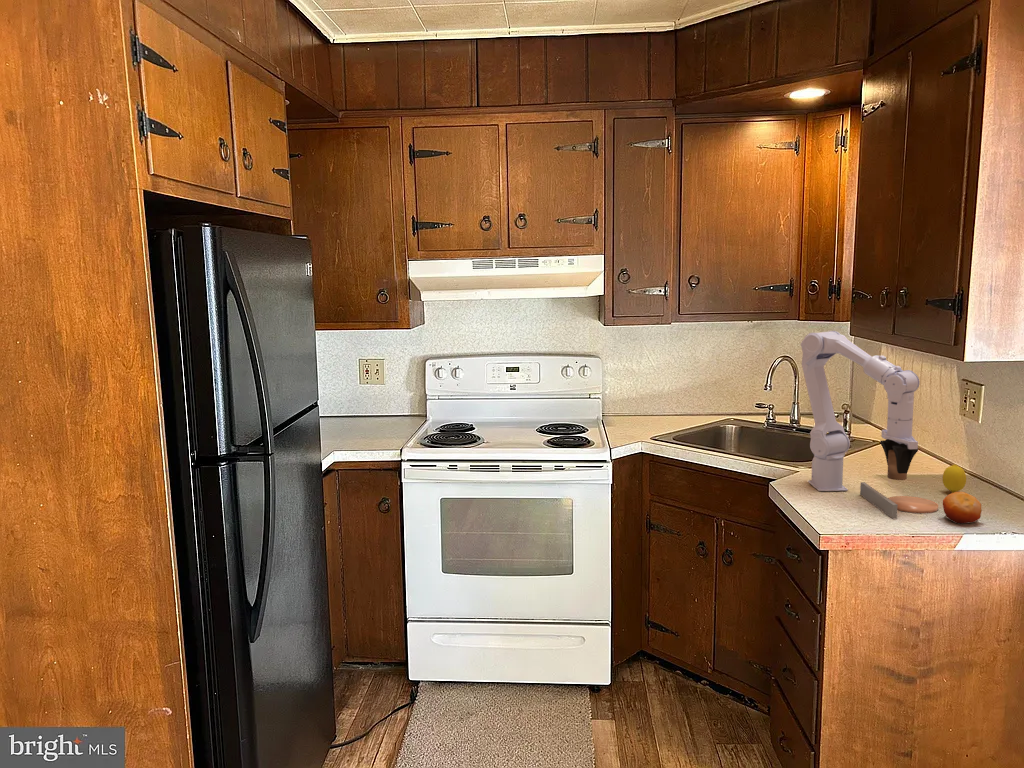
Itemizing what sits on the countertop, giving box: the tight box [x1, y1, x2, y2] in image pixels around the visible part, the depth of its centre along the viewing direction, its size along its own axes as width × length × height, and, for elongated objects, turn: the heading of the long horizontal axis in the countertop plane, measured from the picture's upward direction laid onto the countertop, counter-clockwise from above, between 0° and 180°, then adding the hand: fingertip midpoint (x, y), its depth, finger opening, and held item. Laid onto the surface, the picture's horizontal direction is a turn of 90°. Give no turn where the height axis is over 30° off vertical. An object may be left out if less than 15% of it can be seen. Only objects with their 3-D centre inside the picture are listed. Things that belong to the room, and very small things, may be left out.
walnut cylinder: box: [887, 449, 908, 481], centre depth 188 cm, size 4×4×7 cm
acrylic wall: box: [859, 481, 898, 520], centre depth 190 cm, size 20×1×4 cm, turn 176°
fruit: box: [942, 491, 983, 525], centre depth 178 cm, size 8×8×8 cm
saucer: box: [887, 495, 939, 514], centre depth 190 cm, size 12×12×1 cm
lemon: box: [942, 463, 967, 493], centre depth 199 cm, size 6×6×8 cm
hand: (897, 470), depth 189 cm, fingers closed on walnut cylinder, 4 cm apart
